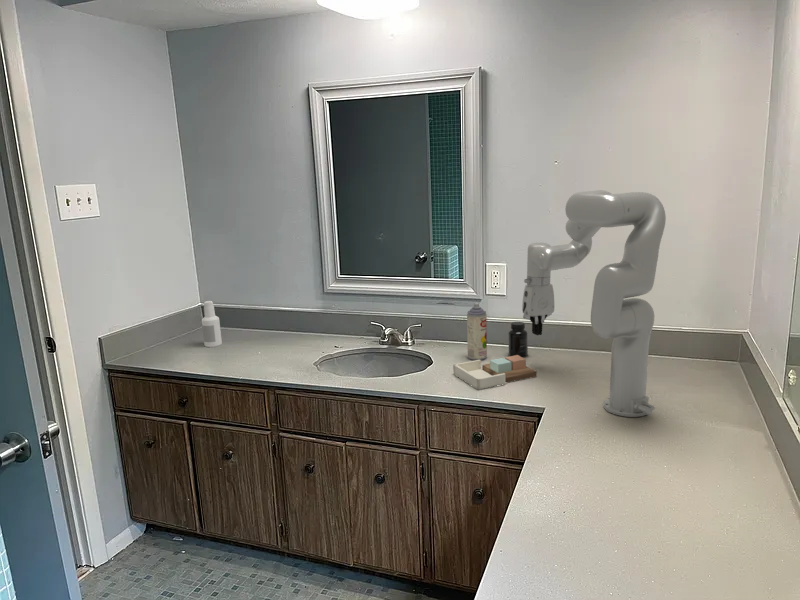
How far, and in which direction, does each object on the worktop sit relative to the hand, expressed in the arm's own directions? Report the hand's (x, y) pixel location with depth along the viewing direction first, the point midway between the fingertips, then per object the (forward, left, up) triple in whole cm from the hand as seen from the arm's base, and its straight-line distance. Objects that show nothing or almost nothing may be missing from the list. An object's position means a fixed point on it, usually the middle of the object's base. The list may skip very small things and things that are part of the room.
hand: (537, 333), depth 206 cm
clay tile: (-1, +9, -10) cm, 13 cm away
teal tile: (-1, +15, -10) cm, 18 cm away
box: (-1, +23, -12) cm, 26 cm away
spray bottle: (+85, +96, -12) cm, 129 cm away
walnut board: (-1, +11, -12) cm, 16 cm away
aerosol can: (+18, +12, -12) cm, 25 cm away
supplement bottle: (+13, -2, -12) cm, 18 cm away
